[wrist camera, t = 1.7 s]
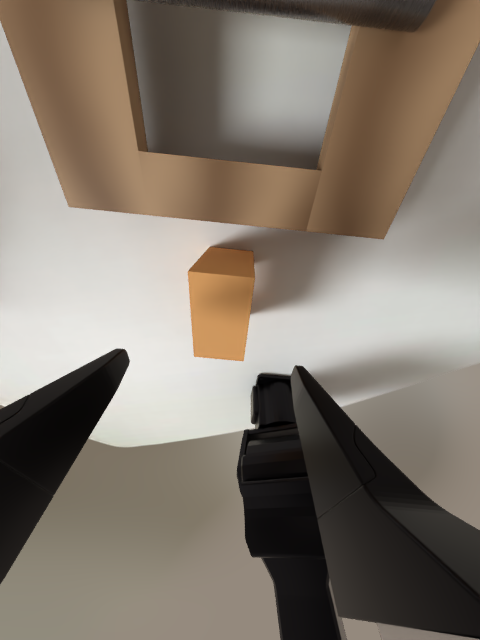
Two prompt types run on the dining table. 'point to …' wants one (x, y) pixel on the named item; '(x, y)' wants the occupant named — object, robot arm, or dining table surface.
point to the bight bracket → (221, 302)
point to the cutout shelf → (239, 177)
